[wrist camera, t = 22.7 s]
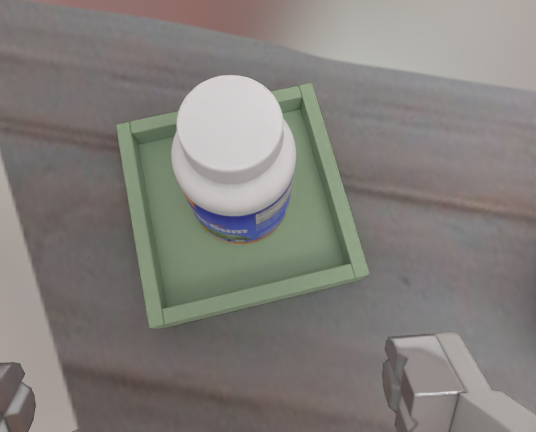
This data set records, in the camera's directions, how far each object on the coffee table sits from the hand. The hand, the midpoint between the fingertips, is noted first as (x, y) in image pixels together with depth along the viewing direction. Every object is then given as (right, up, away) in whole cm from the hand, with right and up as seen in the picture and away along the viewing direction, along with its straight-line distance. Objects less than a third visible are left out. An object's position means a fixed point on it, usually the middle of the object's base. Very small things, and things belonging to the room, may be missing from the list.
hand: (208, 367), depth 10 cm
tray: (0, +4, +16) cm, 17 cm away
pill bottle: (0, +4, +16) cm, 16 cm away
